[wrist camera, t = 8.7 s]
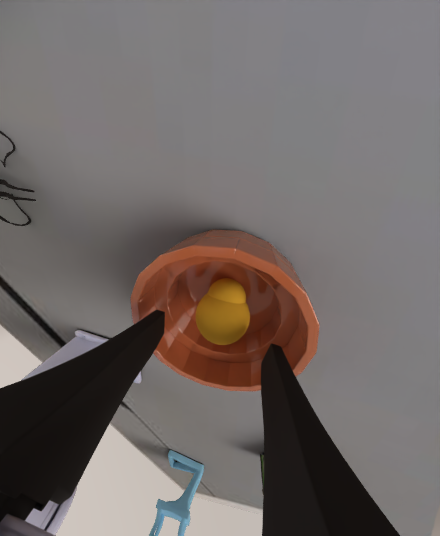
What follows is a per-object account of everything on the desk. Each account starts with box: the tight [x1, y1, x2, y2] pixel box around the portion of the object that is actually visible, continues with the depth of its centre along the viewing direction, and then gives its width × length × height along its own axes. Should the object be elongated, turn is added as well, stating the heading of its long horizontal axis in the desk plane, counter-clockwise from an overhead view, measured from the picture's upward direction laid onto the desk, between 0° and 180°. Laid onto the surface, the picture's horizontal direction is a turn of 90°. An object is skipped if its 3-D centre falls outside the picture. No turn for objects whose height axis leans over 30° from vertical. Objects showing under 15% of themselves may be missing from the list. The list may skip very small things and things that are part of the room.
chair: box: [149, 450, 204, 536], centre depth 31 cm, size 8×8×12 cm
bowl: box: [130, 230, 320, 391], centre depth 12 cm, size 12×13×5 cm
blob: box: [196, 278, 250, 345], centre depth 12 cm, size 4×5×4 cm
